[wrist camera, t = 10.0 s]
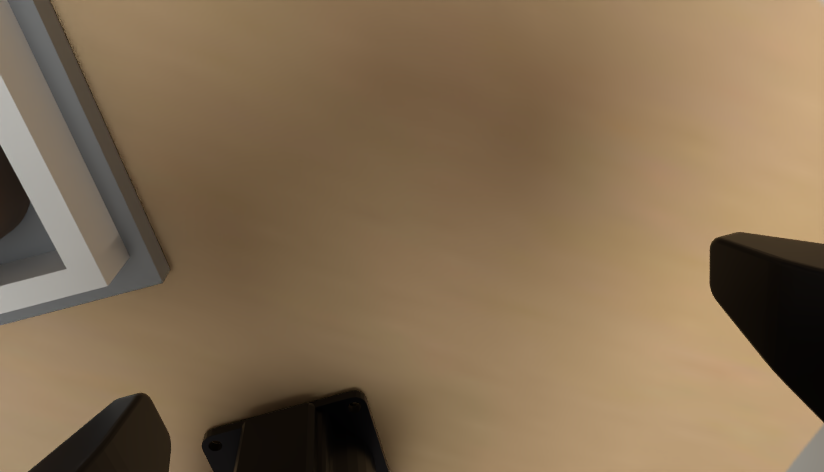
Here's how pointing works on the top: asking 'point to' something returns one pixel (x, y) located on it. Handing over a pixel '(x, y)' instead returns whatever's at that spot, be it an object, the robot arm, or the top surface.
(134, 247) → the housing
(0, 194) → the brown housed cylinder
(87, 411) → the top surface
